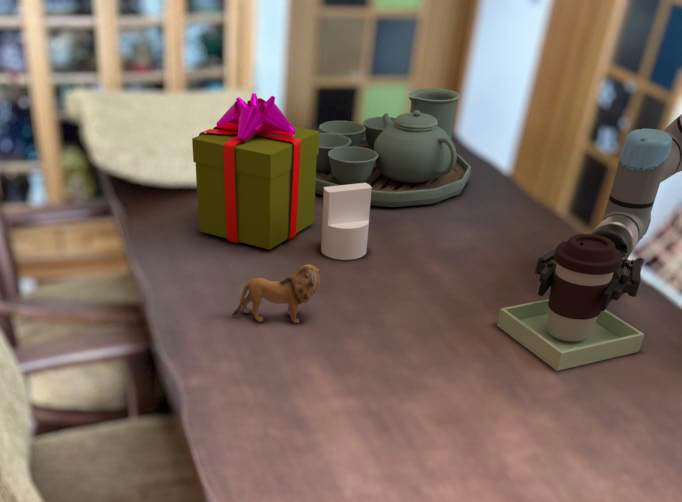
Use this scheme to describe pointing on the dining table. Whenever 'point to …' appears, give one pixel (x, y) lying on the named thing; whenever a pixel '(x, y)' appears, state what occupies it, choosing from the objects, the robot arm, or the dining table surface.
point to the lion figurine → (281, 291)
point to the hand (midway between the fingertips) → (572, 294)
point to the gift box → (255, 175)
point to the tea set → (397, 153)
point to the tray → (602, 344)
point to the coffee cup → (580, 285)
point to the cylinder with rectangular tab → (345, 221)
